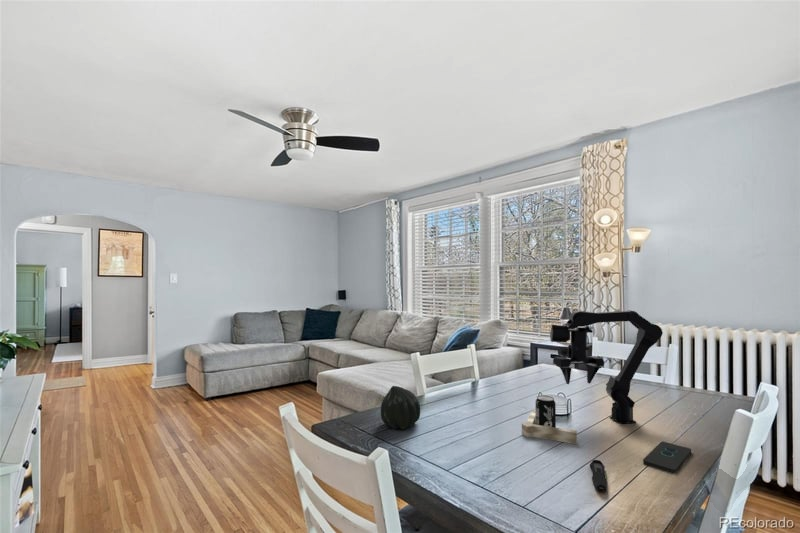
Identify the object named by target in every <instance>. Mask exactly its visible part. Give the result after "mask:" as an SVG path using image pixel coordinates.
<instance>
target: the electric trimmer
mask: <svg viewBox="0 0 800 533" xmlns="http://www.w3.org/2000/svg"><path fill="white" fill-rule="evenodd" d="M589 468H590V469H591V471H592V472H591V473H592V476H591V481H592V482H593V486H594V488H595V490H596V491H599V492H604V493H606V492H608V480H607V477H606V473H605V468H606V466H605V465H604V463H603V462H602V461H601V460H599V459H593V460H592V461H591V462H590V464H589Z"/></svg>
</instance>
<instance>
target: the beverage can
mask: <svg viewBox="0 0 800 533" xmlns="http://www.w3.org/2000/svg"><path fill="white" fill-rule="evenodd" d="M556 409H557V408H556V401H555V398H554V397H553V396H550V395H544V394H542V395H537V396H536V399H535V411H536V425H542V426H548V427H555V428H557V427H556V426H557V425H556V422H557V421H556V418H557V414H556Z"/></svg>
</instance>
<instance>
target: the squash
mask: <svg viewBox="0 0 800 533" xmlns="http://www.w3.org/2000/svg"><path fill="white" fill-rule="evenodd" d="M420 417H421V404H420V401H419V399H418V397H417V396H416V394H415V393H413V392H412V391H411V390H408V389H406V388H404V387H400V386H397V385H392V386H391V387H390V389H389V390H388V392H387V393H386V394H385V396H384V397H383V399H382V402H381V405H380V418H381V421H382V422H383V424H384V425H386V426H387V427H390V428H392V429H393V430H398V429H400V430H406V429H407V428H408V427H412V426H414V425H415V424H416V423H417V422H418V420H420Z"/></svg>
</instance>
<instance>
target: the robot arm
mask: <svg viewBox="0 0 800 533" xmlns="http://www.w3.org/2000/svg"><path fill="white" fill-rule="evenodd" d="M618 322H620V323H622V322H629V323H630V324H631V325H632V326H634V327H635V329H637V333H636V338H635V340H636V341H635V344H634V345H633V347H632V349H631V351H630V352H629V354H628V356H627V358H626V360H625V362H624V363H623V365H622V367H621V369H620V371H619V373H618V374H617V375H616V376H615V377H614V376H612V375H611V376H610V377H609V379H608V381H607V382H606V383H605V385H606V387H605V392H606V393H607V395H608V396H609V397H610V398H611V399H612V401H613V402H612V407H611V416H609V418H610V419H611V420H613V421H614V422H616V423H618V424H619V423H620V424H622V425H623V424H637V421H636V420H634V407H635V404H636V403H635V401H634V400H633V399H632V398H631V397H630V396H629V393H630V391H631V390H630V389H631V382H632V380H633V378H634V376H635V374H636V372H637V371H638V369H639V367H640V366H641V363H642V362H643V360H644V359H645V356H646V354H647V353H648V350H650V348H652V347H653V346H654V345H655V344H656V343H658V342H659V340H660V339H661V338H662V336H663V334H664V333H663V329H662V327H660V326H659V325H658V324H654V323H651V322H650V321H649V320H648V319H646V318H644V317H643V316H641V315H640V314H639V313H638V312H637V311H635V310H630V309H629V310H621V311H603V312H601V311H600V312H591V311H585V310H573V311H572V312H571V313H570V315H569V319H568V320H567V321H566V322H565V324H564V325H561V324H560V325H559V324H554V323H552V324H551V327H550V332H549V337H550V338H549V339H550V342H551V343H567V342H569V341H570V344H568V346H567V348H565V347H564V346H561V347H560V346H559V347H558V348H557V354H558V356H554V357H553V359H552V365H555V366H556V367H558V368H559V369H560V370H561V372H562V375H563V377H564V381H565V384H567V385H569V384H570V381H571V374H572V367H571V365H580V364H581V365H584V364H585V367H586V373H587V374H586V376H587V377H586V380H587V384H591V383H592V381H593V379H594V378H595V376H596V374H597V372H599V370H600V369H601V368H602V367H605V360H604V358H602V357H599V356H596V355H590V356H589V355H587V354H588V353H587V352H588V350H589V351H590V346H588V333H589V334H591V333H593V332H594V331H593V329H591V328H590V326H591V325H594V324H598V323H618Z"/></svg>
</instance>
